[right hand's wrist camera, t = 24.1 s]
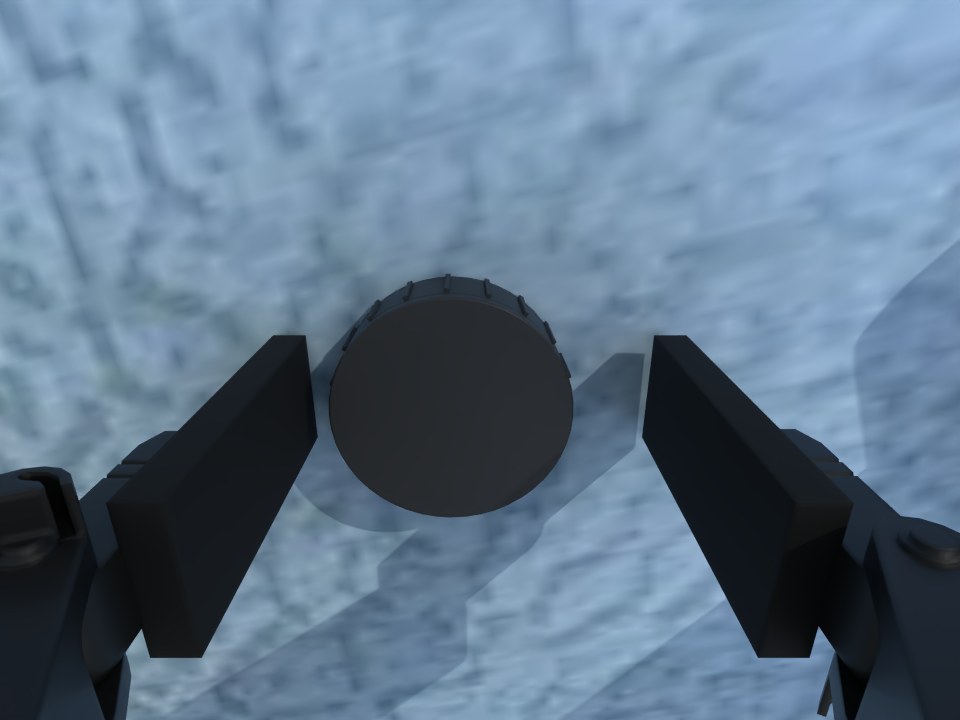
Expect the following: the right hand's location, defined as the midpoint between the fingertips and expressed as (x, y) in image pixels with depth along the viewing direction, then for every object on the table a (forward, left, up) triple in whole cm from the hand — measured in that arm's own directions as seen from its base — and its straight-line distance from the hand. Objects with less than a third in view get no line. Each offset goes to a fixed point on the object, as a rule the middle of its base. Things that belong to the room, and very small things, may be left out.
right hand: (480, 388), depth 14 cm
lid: (-1, 0, +1) cm, 1 cm away
